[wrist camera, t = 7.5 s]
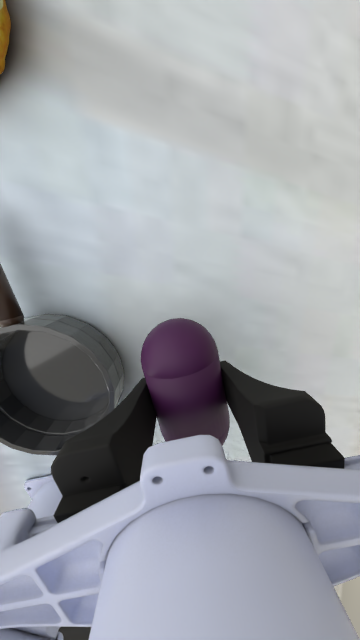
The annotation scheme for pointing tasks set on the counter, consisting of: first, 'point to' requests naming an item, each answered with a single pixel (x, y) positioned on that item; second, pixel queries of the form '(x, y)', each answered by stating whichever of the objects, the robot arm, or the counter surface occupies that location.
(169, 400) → the eggplant
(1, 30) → the decorated donut
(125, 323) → the counter surface
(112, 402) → the pan
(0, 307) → the pan handle
